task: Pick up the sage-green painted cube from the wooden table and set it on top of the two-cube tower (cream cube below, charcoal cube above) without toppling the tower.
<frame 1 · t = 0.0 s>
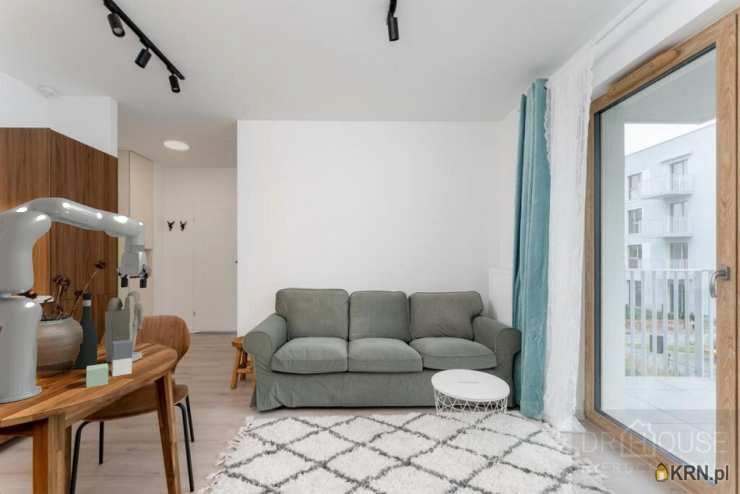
hand: (133, 287, 162), 31 cm above the table, tool pointing down, fingers open, 9 cm apart
sage block: (96, 383, 130), on the table
wine bottle: (84, 367, 149), on the table
cream block: (121, 372, 142), on the table, touching charcoal block
sculpture: (125, 360, 159), on the table
charcoal block: (122, 357, 142), point 6 cm above the table, touching cream block
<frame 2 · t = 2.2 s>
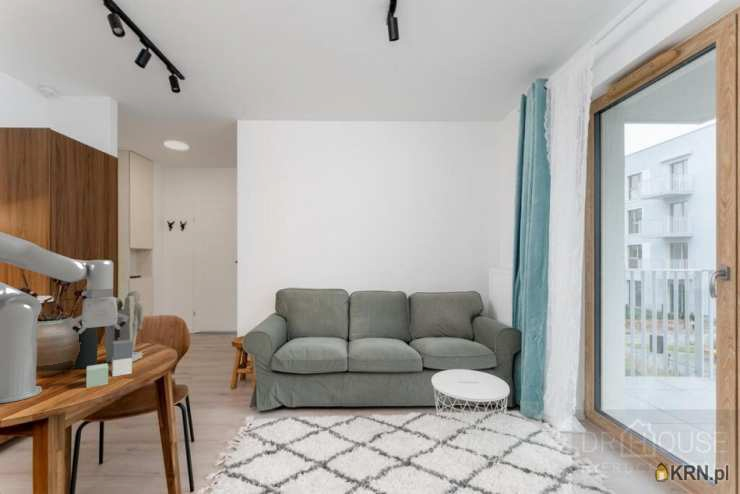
hand: (99, 342, 130), 15 cm above the table, tool pointing down, fingers open, 9 cm apart
nothing on the table moved.
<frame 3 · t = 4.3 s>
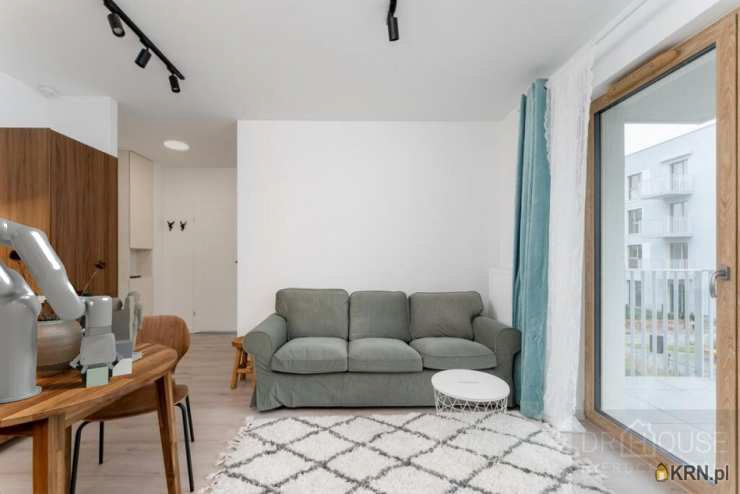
hand: (97, 381, 130), 1 cm above the table, tool pointing down, fingers closed on sage block, 6 cm apart
sage block: (96, 383, 130), on the table, touching gripper
everything else where it was.
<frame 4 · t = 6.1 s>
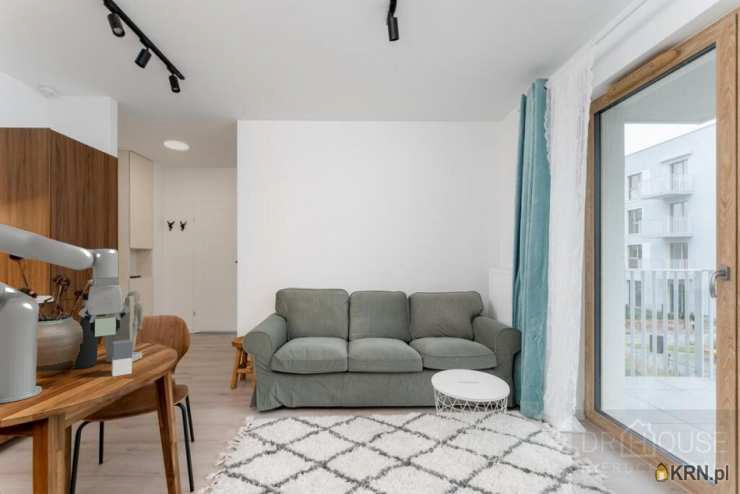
hand: (105, 331, 133), 18 cm above the table, tool pointing down, fingers closed on sage block, 6 cm apart
sage block: (105, 333, 133), point 17 cm above the table, touching gripper
everything else where it was.
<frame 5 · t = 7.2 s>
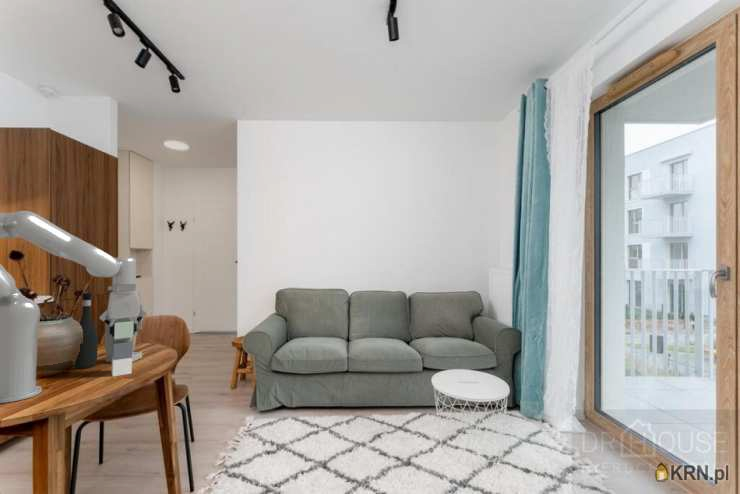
hand: (123, 334, 142), 15 cm above the table, tool pointing down, fingers closed on sage block, 6 cm apart
sage block: (123, 336, 142), point 14 cm above the table, touching gripper
everything else where it was.
when the fingers open (14 cm above the table, at t = 8.2 s): sage block stays where it is, resting on charcoal block.
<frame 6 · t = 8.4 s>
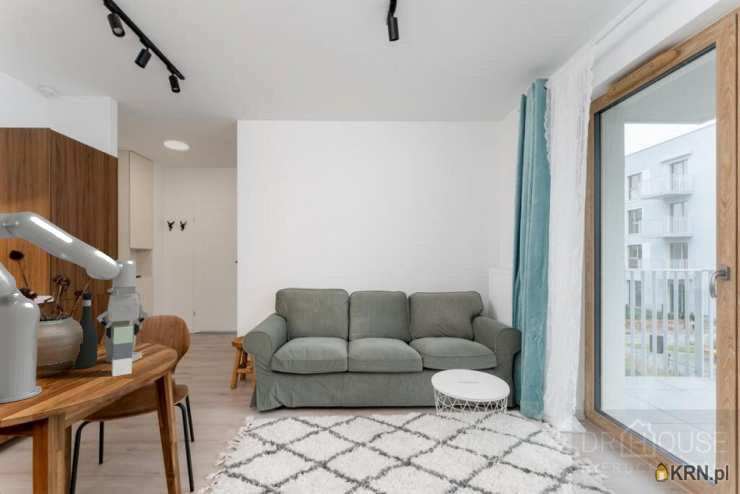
hand: (122, 336, 142), 14 cm above the table, tool pointing down, fingers open, 8 cm apart
sage block: (122, 341, 142), point 12 cm above the table, touching charcoal block
charcoal block: (122, 357, 142), point 6 cm above the table, touching cream block, sage block
everything else where it was.
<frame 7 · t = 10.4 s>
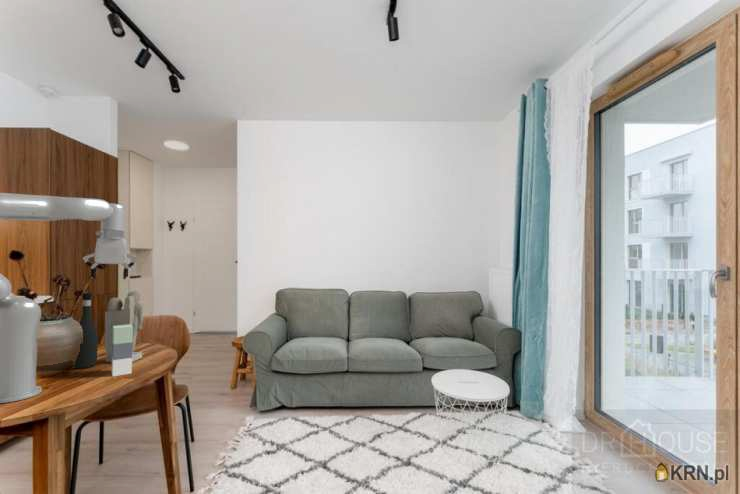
hand: (109, 279, 142), 36 cm above the table, tool pointing down, fingers open, 9 cm apart
nothing on the table moved.
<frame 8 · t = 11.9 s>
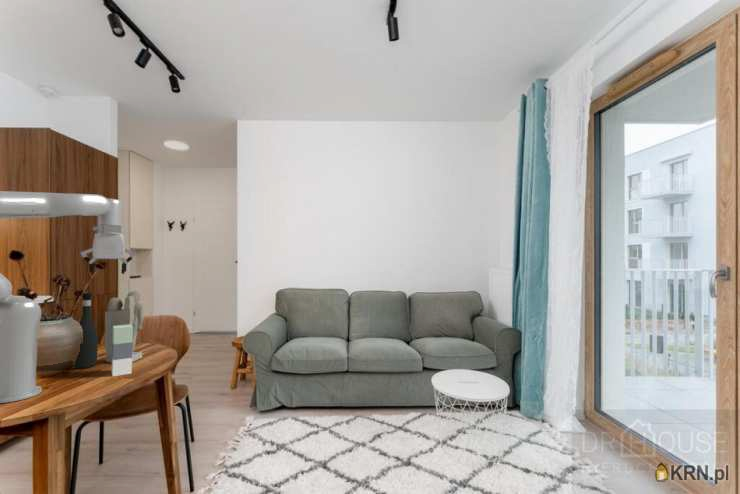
hand: (108, 273, 143), 38 cm above the table, tool pointing down, fingers open, 9 cm apart
nothing on the table moved.
at the end: sage block 0.0 cm off-centre on the cream block, point 12.0 cm above the cream block's base; charcoal block tilted 0°; cream block moved 0.1 cm from its start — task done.
